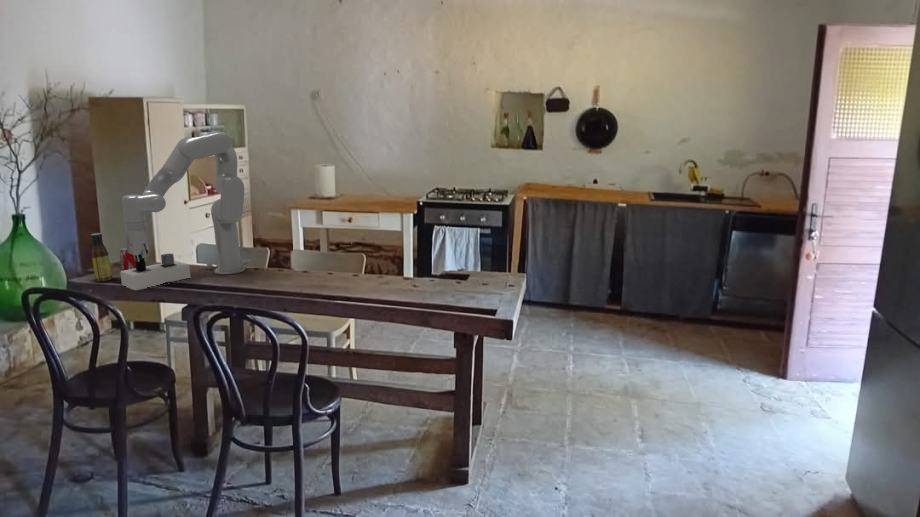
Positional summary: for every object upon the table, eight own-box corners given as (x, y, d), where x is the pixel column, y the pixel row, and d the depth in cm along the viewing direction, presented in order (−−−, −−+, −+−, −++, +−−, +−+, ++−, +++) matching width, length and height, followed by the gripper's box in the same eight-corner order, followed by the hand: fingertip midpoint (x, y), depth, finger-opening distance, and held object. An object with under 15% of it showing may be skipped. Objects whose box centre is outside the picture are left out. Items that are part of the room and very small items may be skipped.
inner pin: (171, 266, 281) (169, 253, 279) (177, 267, 278) (175, 254, 276) (160, 268, 277) (158, 255, 276) (165, 269, 274) (164, 256, 273)
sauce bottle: (115, 278, 281) (109, 232, 277) (106, 282, 275) (100, 235, 271) (101, 278, 282) (94, 232, 277) (92, 282, 276) (84, 235, 271)
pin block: (176, 274, 287) (175, 260, 285) (190, 278, 279) (189, 264, 278) (122, 285, 270) (120, 271, 268) (135, 290, 262) (133, 275, 261)
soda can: (135, 277, 282) (132, 249, 280) (119, 277, 283) (115, 250, 280) (143, 273, 289) (140, 246, 287) (127, 273, 290) (124, 246, 287)
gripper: (117, 225, 267) (123, 269, 271) (134, 229, 257) (140, 275, 261) (136, 222, 272) (142, 266, 276) (153, 226, 263) (159, 271, 267)
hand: (141, 270), depth 269 cm, fingers closed
